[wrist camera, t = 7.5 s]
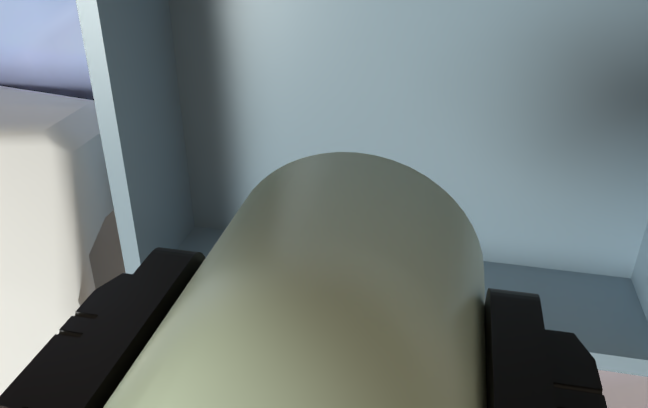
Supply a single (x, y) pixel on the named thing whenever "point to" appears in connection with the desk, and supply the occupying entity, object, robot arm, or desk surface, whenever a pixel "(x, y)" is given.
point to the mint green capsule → (327, 299)
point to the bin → (397, 129)
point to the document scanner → (50, 220)
